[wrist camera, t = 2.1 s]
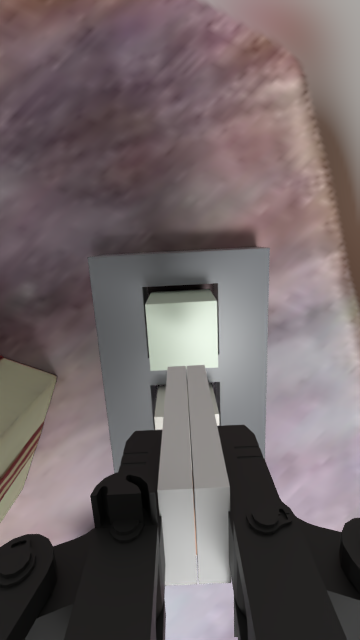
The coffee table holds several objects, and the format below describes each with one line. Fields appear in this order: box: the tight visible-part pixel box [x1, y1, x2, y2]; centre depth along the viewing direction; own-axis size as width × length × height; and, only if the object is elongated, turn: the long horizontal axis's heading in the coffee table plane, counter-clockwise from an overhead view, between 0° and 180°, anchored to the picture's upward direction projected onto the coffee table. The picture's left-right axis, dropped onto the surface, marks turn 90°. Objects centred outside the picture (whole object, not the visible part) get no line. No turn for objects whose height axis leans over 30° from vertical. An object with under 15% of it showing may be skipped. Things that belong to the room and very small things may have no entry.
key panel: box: [88, 247, 270, 473], centre depth 29 cm, size 14×28×4 cm, turn 3°
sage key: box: [145, 289, 218, 371], centre depth 23 cm, size 5×5×5 cm
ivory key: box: [154, 383, 219, 466], centre depth 26 cm, size 5×5×5 cm
